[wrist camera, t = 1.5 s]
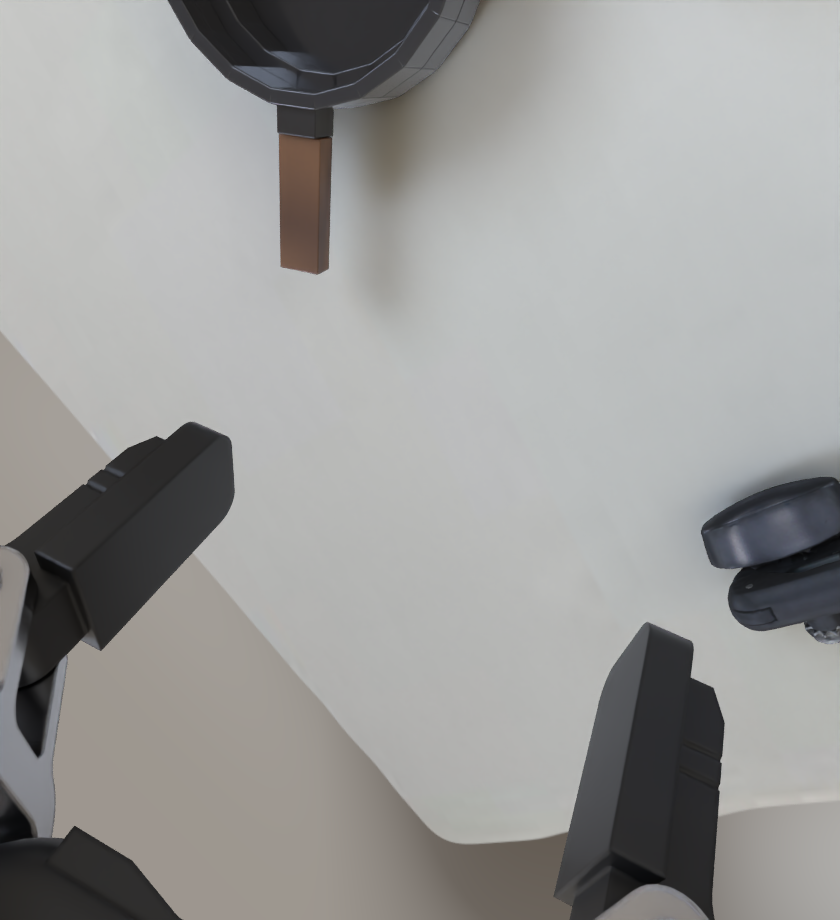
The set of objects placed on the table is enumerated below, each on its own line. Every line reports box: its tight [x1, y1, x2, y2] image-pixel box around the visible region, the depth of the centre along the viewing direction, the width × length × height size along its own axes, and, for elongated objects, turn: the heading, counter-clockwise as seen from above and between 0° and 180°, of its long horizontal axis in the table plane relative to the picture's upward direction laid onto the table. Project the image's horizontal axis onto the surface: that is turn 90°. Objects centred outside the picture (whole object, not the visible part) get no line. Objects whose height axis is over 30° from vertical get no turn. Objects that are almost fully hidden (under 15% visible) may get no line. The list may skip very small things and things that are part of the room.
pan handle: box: [277, 105, 334, 275], centre depth 29 cm, size 7×2×2 cm, turn 175°
